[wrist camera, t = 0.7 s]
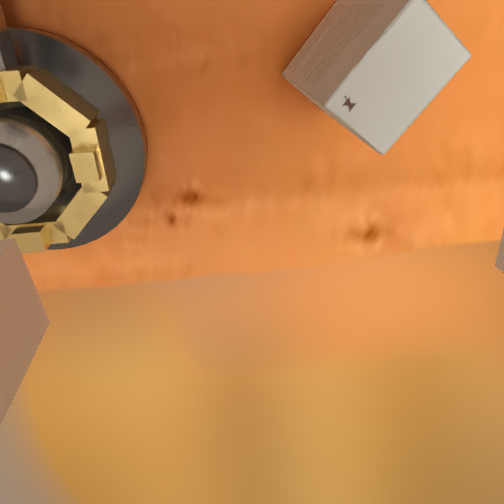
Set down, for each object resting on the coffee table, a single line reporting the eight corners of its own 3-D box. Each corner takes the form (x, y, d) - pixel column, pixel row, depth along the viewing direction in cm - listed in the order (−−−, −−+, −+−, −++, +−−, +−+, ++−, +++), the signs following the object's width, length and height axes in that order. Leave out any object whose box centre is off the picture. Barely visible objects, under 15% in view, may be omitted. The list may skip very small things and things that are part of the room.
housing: (-118, 34, 27) (-222, 41, 20) (126, 20, 28) (103, 22, 21) (-30, 245, 34) (-85, 301, 28) (161, 228, 35) (152, 278, 29)
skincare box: (323, 111, 32) (381, 160, 22) (279, 74, 31) (319, 107, 20) (381, 40, 30) (477, 55, 20) (338, -5, 29) (416, -14, 18)
